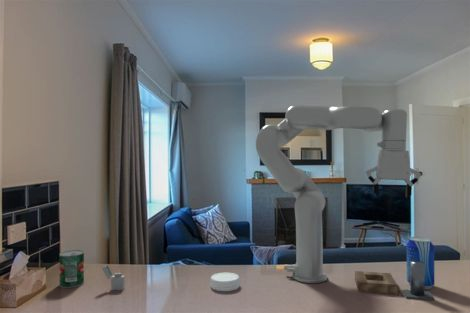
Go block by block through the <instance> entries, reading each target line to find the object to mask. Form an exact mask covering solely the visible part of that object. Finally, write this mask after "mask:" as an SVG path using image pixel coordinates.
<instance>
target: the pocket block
mask: <svg viewBox="0 0 470 313" xmlns="http://www.w3.org/2000/svg"><path fill="white" fill-rule="evenodd" d="M354 282H355V285H356V288H357V291H358V292H363V293H365V292H366V293H377V294H378V293H379V294H388V295H389V294H390V295H398V284H397V281H396V280H395V278H394V277H393V275H392V273H391V272H390V273H389V272H374V271H360V270H354Z"/></svg>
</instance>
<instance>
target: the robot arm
mask: <svg viewBox="0 0 470 313" xmlns="http://www.w3.org/2000/svg"><path fill="white" fill-rule="evenodd" d="M284 115H285V116H284V117H285V118H284V119H283V120H282V121H281V122H280V123H278V124H277V125H276V124H272V123H271V124H266V125H264V126H262V127H261V129H259V132H258V133H257V136H256V139H255V149H256V152H257V155H258V157H259V160H260V161H261V162H262V163H263V165H264V166H265V168H266V169H267V170H268V171H269V173H270V174H271V177H273V178H274V180H275V181H276V182H277V184H278V185H279V187H280V188H281V189H282V190H283V192H285V193H288V194H292V195H293V196H294V198H295V203H294V218H295V245H296V246H295V247H296V248H295V249H296V250H295V254H296V255H295V258H296V259H295V261H296V262H295V264H292V265H290V264H283V265H284V268H283V269H284V271H286V272H292V273H291V278H292V279H294V280H295V281H297V282H301V283H306V284H318V283H319V284H320V283H324V282H326V281H327V280H328V275H327V273H325V272H324V266H323V265H324V264H323V262H324V260H323V259H324V258H323V255H324V254H323V253H324V252H323V251H324V250H323V249H324V246H323V242H324V241H323V240H324V239H323V238H324V237H323V215H322V214H323V210H324V209H325V206H326V198H325V196H324V193H323V192H322V191H321V190H320V189H319V187H318V186H317V185H316V184H315V182H314V181H313V180H312V178H311V177H310V176H309V174H307V172H305V171H304V170H303V169H302V168H299V167H295V166H294V165H293V164H292V162H291V161H290V159H289V158H288V156H287V155H286V154H285V153H284V152H283V151H282V150H281V147H284V146H286V145H287V144H289V143H290V142H291V141H292V140H294V139H295V138H296V137H297V136H299V135H300V134H302V133H303V132H304V131H305V130H306V129H308V130H309V129H310V130H321V131H322V130H323V131H333V130H337V129H353V130H355V129H357V130H358V129H359V130H363V131H365V132H367V133H368V132H369V133H372V132H373V133H374V132H381V131H382V132H381V141H380V142H377V143H376V146H377V147H379V148H380V149H379V150H378V155H377V161H376V165H375V166H374V167H372V168H370V169H367V170H366V171H365V174H366V176H367V178H368V179H369V181H370V182H371V183H372V184H373V191H372V193H373V194H374V196H375V197H379V188H380V186H379V182H380V181H381V180H386V181H387V180H388V181H389V180H391V181H404V182H405V184H406V185H405V194H404V196H405V198H406V199H410V197H411V196H412V193H413V192H412V190H413V189H412V187H413V186H414V185H415V184H416V183H417V182H418V181H419V179H420V178H421V176H422V173H421V172H419V171H417V170H415V169H413V168H411V159H410V151H409V150H407V129H408V128H407V124H408V114H407V110H405V109H401V108H400V109H399V108H398V109H397V108H394V109H393V108H392V109H386V110H384V111H380V110H379V109H377V108H375V107H371V106H356V105H355V106H353V105H346V106H345V105H341V106H335V105H332V106H330V105H329V106H328V105H304V104H301V105H298V104H297V105H296V104H295V105H291V106H289V107H288V109H286V112H285V114H284ZM375 172H376V177H375V178H374V177H373V176H372V173H375ZM411 174H413V175H414V177H413V178H412V179H411V180H410V178H411Z"/></svg>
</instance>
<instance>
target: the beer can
mask: <svg viewBox="0 0 470 313" xmlns="http://www.w3.org/2000/svg"><path fill="white" fill-rule="evenodd" d="M413 260H416V261H422V262H424V263H425V290H431V289H432V288H433V286H435V246H434V244H433V243H432V240H431V239H430V238H429V237H428V238H427V237H423V236H422V237H420V236H411V237H409V240H408V242H406V281H407V283H408V284H409V286H410V261H413Z"/></svg>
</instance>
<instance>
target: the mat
mask: <svg viewBox="0 0 470 313" xmlns="http://www.w3.org/2000/svg"><path fill="white" fill-rule="evenodd" d="M401 292H402V293H403V295H404V296H405V298H406V299H408V300H409V299H413V300H422V301H423V300H424V301H436V300H435V299H436V298H435V297H434V296H433V295H432V293H431V292H430V291H427V290H426V291H425V295H424V296H415V295H412V294H411V293H410V289H401Z"/></svg>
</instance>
